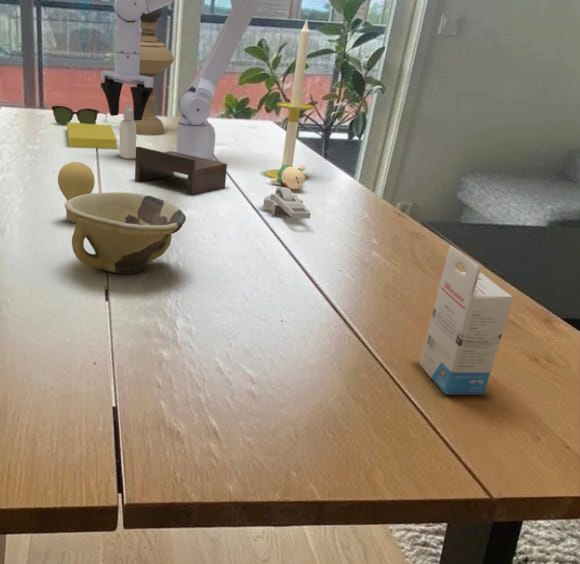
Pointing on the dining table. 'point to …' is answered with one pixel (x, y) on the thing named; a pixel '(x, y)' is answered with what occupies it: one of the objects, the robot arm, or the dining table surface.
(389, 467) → the dining table surface
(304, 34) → the candle
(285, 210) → the zipper pull
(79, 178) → the light bulb
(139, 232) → the bowl
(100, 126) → the flat olive board
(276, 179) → the toy figurine
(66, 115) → the sunglasses
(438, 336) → the ink box
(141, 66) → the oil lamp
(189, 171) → the shelf
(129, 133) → the eye dropper bottle
